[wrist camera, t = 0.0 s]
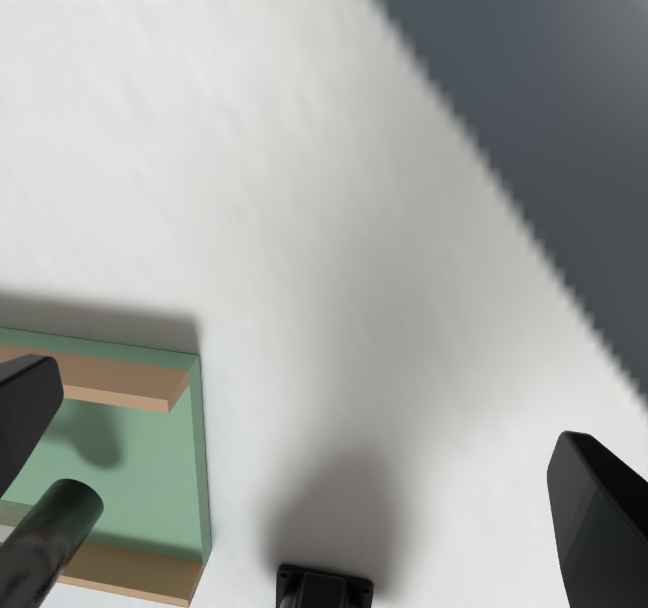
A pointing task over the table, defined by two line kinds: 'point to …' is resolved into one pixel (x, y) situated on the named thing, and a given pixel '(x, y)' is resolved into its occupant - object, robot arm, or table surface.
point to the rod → (43, 540)
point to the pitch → (126, 463)
